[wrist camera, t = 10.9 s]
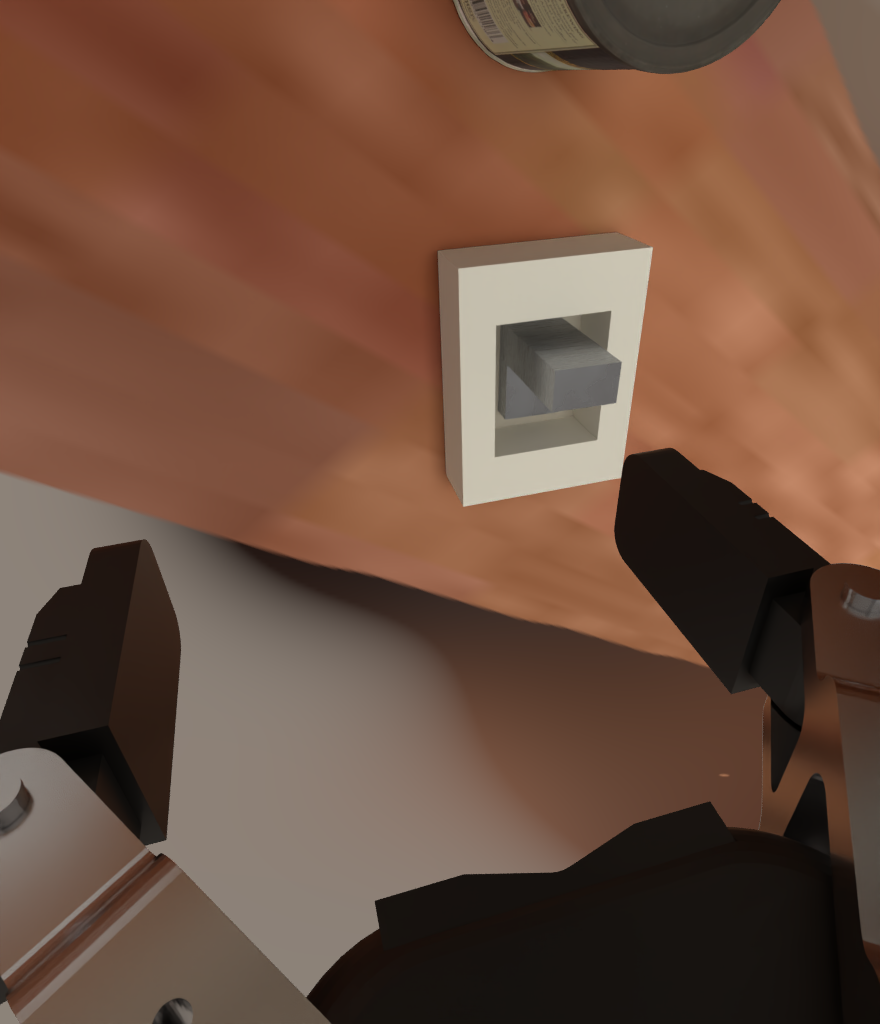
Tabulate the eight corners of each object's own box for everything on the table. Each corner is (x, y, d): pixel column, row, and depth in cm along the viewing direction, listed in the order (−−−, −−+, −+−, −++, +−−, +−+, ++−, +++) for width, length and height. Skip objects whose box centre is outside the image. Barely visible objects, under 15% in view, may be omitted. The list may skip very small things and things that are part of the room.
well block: (437, 250, 40) (458, 268, 37) (616, 232, 43) (652, 247, 39) (446, 474, 49) (463, 506, 46) (593, 449, 52) (620, 477, 48)
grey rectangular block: (500, 320, 43) (555, 370, 36) (557, 314, 44) (621, 362, 37) (498, 410, 47) (547, 473, 40) (550, 403, 48) (607, 462, 41)
